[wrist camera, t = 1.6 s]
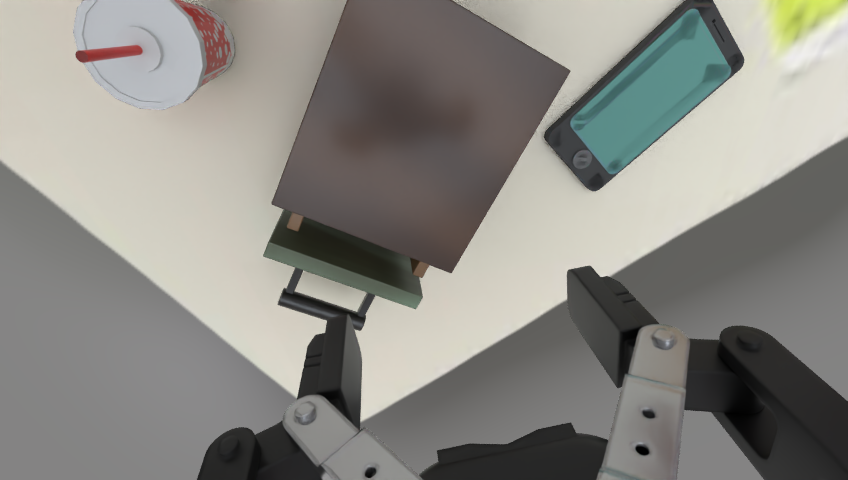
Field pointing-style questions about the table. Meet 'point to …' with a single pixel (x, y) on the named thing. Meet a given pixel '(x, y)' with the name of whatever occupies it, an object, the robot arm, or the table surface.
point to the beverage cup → (151, 49)
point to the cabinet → (415, 126)
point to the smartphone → (646, 93)
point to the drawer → (341, 267)
